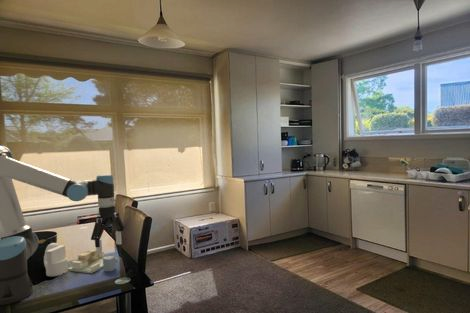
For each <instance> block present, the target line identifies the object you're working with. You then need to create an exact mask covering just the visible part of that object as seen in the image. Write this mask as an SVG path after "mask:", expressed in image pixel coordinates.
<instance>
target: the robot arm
mask: <svg viewBox="0 0 470 313" xmlns="http://www.w3.org/2000/svg"><path fill="white" fill-rule="evenodd" d="M13 180H15V181H18V182H21V183H24V184H27V185H29V186H33V187H35V188H38V189H42V190H45V191H47V192H51V193H54V194H57V195H60V196H63V197H66V198H68V199H69V200H70V201H72V202H81V201H83V200H85V199H86V197H87V196H97V206H98V215H99V216H100V218H95V219H94V226H93V230H92V233H91V237H90V240H91V241H94V245H95V246H94V247H95V249H96V253H97V254H102V251H103V243H102V239H101V238H102V236H103V233H104V232H105V229H106V228H107V227H108V226H109V225H111V226H112V227H113V228H114V229H115V244H116V245H122V232H124V229H125V226H124V224H123V222H122V219H121V217H120V213H119V212H116V206H115V204H116V202H115V184H114V176H113V175H112V174H110V173H109V174H99V175H98V174H97V176H96V178H95V179H87V180H74V179H70V178H68V177H65V176H61V175H59V174H56V173H53V172H50V171H48V170H44V169H42V168H39V167H36V166H34V165H31V164H27V163H25V162H22V161H18V160H16V159H14V158H13V153H12V151H11V150H10V148H8V147H7V146H5V145H2V144H0V226H1V229H2V233H1V234H0V306H4V305H10V304H13V303H17V302H20V301H22V300H24V299H26V298H28V297H30V296H31V295H32V294H33V293H34V285H33V282H32V280H31V278H30V276H29V275H28V260H29V258H30V257H32V256H33V255H34V253H36V252H37V250H38V247H39V237H38V236H37V234H36V233H34V232H33V230H32V227H31V225H29V224H26V221H25V218H24V214H23V210H22V207H21V204H20V201H19V197H18V195H17V192H16V191H17V190H16V188H15V185H14V182H13Z"/></svg>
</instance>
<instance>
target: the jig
mask: <svg viewBox="0 0 470 313" xmlns="http://www.w3.org/2000/svg"><path fill="white" fill-rule="evenodd" d="M106 257H107V256H105V251H103V250H102V254H99V259H97V260H95V261H93V262H91V263H89V264H88V262H85V263H82V262H80V261H77V260H73V261H71V266H70V267H67V272H77V273H85V274H93V272H94V273H95V272H97V271H99V270H101V269H103V259H104V258H106ZM115 260H116V261H118V257H115Z"/></svg>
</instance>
